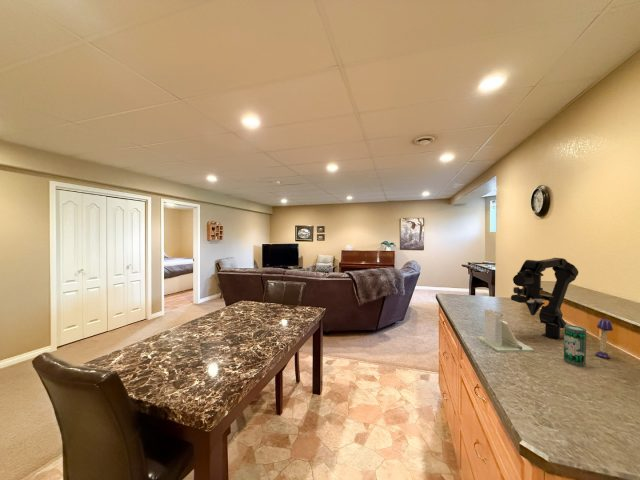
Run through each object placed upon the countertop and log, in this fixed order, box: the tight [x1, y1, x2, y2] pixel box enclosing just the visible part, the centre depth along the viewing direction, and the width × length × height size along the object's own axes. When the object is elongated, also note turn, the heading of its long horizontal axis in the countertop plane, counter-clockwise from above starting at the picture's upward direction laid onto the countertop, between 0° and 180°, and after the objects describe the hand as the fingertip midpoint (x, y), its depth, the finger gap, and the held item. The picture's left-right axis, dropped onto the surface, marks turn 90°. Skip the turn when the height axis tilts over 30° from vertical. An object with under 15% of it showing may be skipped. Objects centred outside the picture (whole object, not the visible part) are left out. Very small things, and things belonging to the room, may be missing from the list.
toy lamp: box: [595, 318, 614, 360], centre depth 109 cm, size 5×5×17 cm
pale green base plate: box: [476, 335, 535, 353], centre depth 122 cm, size 17×15×2 cm
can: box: [563, 324, 587, 368], centre depth 105 cm, size 6×6×15 cm
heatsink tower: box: [483, 309, 504, 347], centre depth 122 cm, size 5×8×15 cm, turn 0°
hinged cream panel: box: [502, 320, 520, 347], centre depth 122 cm, size 1×13×14 cm, turn 179°
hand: (532, 315), depth 126 cm, fingers closed
